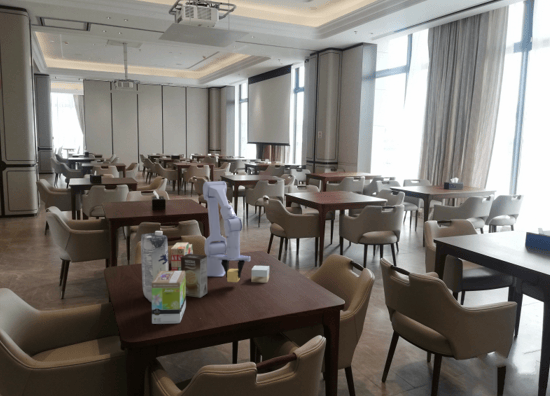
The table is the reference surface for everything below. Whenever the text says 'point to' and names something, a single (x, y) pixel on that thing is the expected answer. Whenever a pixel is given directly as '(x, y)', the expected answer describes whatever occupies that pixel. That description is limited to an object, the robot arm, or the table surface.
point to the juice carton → (153, 259)
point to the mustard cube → (232, 275)
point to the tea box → (168, 297)
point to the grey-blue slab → (260, 271)
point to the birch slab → (260, 279)
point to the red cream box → (179, 254)
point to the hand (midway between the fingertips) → (233, 277)
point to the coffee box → (195, 274)
